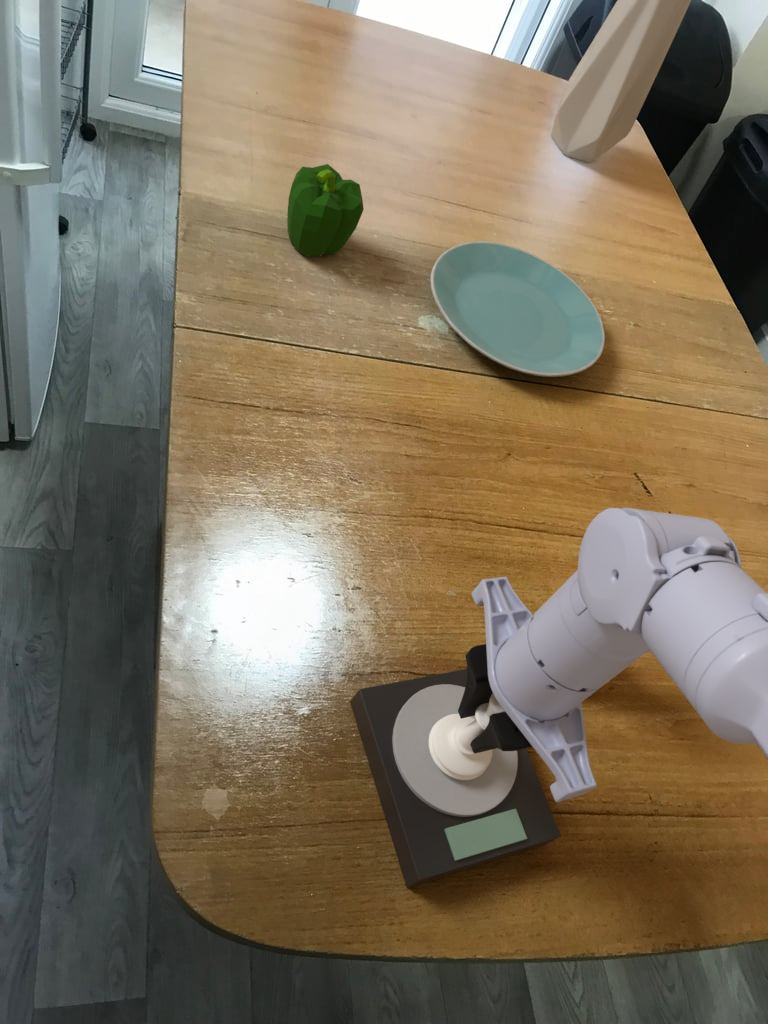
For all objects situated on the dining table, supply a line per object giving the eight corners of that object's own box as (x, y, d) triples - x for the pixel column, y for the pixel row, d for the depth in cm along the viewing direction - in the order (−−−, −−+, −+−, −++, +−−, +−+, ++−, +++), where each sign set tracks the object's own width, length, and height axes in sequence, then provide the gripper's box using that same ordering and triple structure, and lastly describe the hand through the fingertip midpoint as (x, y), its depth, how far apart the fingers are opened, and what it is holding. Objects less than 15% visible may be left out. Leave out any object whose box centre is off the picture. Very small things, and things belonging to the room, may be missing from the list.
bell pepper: (324, 215, 100) (348, 140, 92) (359, 262, 97) (387, 189, 89) (262, 222, 95) (282, 143, 88) (296, 271, 92) (320, 195, 85)
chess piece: (419, 722, 63) (472, 662, 55) (476, 711, 65) (534, 652, 57) (441, 786, 60) (499, 732, 53) (499, 773, 62) (562, 719, 55)
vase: (570, 119, 136) (693, -109, 111) (618, 163, 133) (756, -61, 108) (522, 126, 129) (641, -116, 104) (571, 173, 126) (707, -65, 101)
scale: (545, 844, 64) (565, 834, 62) (406, 888, 59) (421, 878, 56) (480, 676, 71) (495, 661, 68) (349, 701, 65) (361, 686, 63)
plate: (422, 362, 91) (432, 343, 89) (423, 237, 104) (431, 218, 102) (604, 412, 96) (617, 395, 94) (582, 287, 109) (594, 270, 107)
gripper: (679, 750, 48) (563, 817, 58) (574, 537, 55) (487, 630, 65) (580, 777, 45) (477, 842, 55) (483, 547, 52) (407, 644, 62)
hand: (477, 729), depth 60 cm, fingers closed on chess piece
